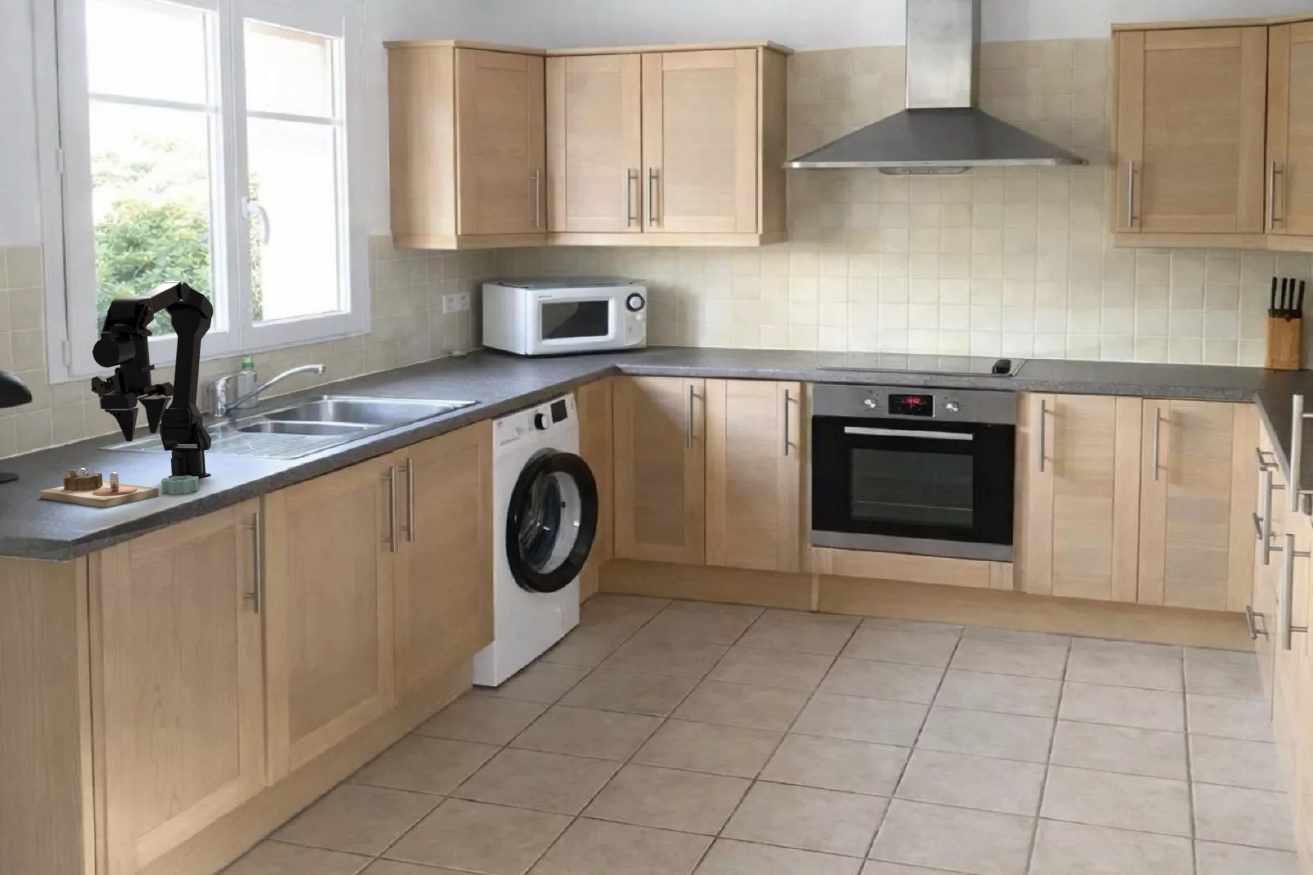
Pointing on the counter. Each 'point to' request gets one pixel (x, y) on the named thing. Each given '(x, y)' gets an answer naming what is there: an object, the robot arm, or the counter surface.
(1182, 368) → the counter surface
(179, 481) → the loose gear
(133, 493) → the gear board
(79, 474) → the steel pegs
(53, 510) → the counter surface
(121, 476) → the counter surface
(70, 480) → the gear
